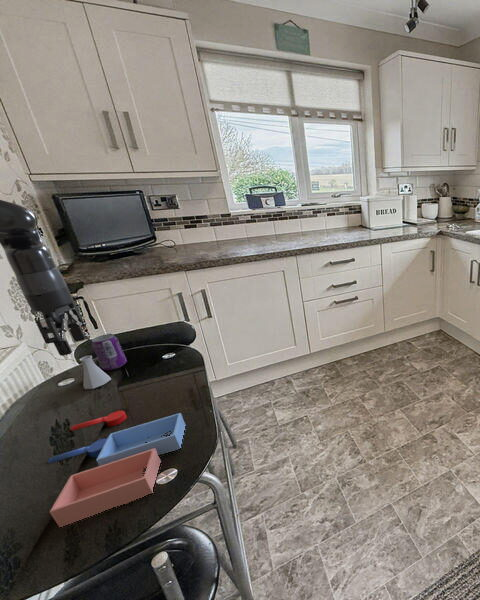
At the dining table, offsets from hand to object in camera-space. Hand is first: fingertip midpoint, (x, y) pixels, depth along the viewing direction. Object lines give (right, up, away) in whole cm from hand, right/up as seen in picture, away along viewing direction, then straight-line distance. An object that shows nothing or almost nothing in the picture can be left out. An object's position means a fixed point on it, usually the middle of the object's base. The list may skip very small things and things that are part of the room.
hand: (73, 347), depth 85 cm
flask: (-17, -16, +26) cm, 35 cm away
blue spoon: (+8, -26, -5) cm, 27 cm away
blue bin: (+23, -24, -5) cm, 34 cm away
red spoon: (+3, -22, +5) cm, 23 cm away
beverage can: (-20, -12, +36) cm, 43 cm away
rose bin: (+25, -28, -16) cm, 41 cm away
